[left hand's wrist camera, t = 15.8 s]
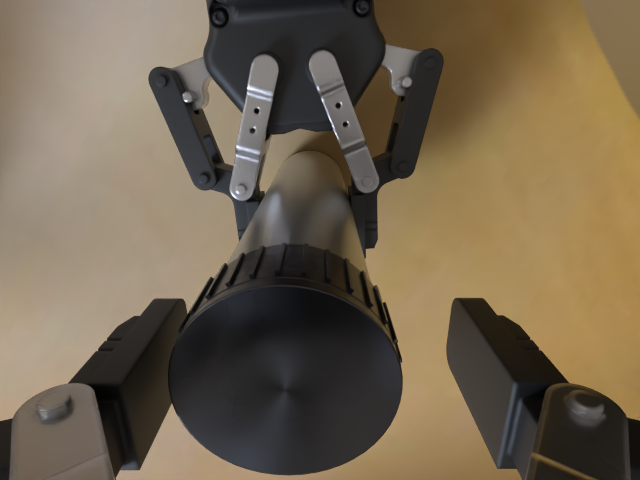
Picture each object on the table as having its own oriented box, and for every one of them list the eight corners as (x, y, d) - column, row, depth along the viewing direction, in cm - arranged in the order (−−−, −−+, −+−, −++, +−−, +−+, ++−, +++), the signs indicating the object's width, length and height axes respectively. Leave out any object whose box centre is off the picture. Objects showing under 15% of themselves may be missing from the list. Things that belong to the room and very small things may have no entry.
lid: (429, 331, 11) (456, 390, 9) (294, 436, 12) (289, 510, 10) (289, 197, 9) (280, 227, 7) (155, 330, 11) (114, 390, 9)
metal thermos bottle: (315, 229, 29) (305, 478, 10) (262, 189, 28) (145, 384, 9) (357, 179, 28) (434, 358, 9) (303, 135, 27) (264, 235, 8)
